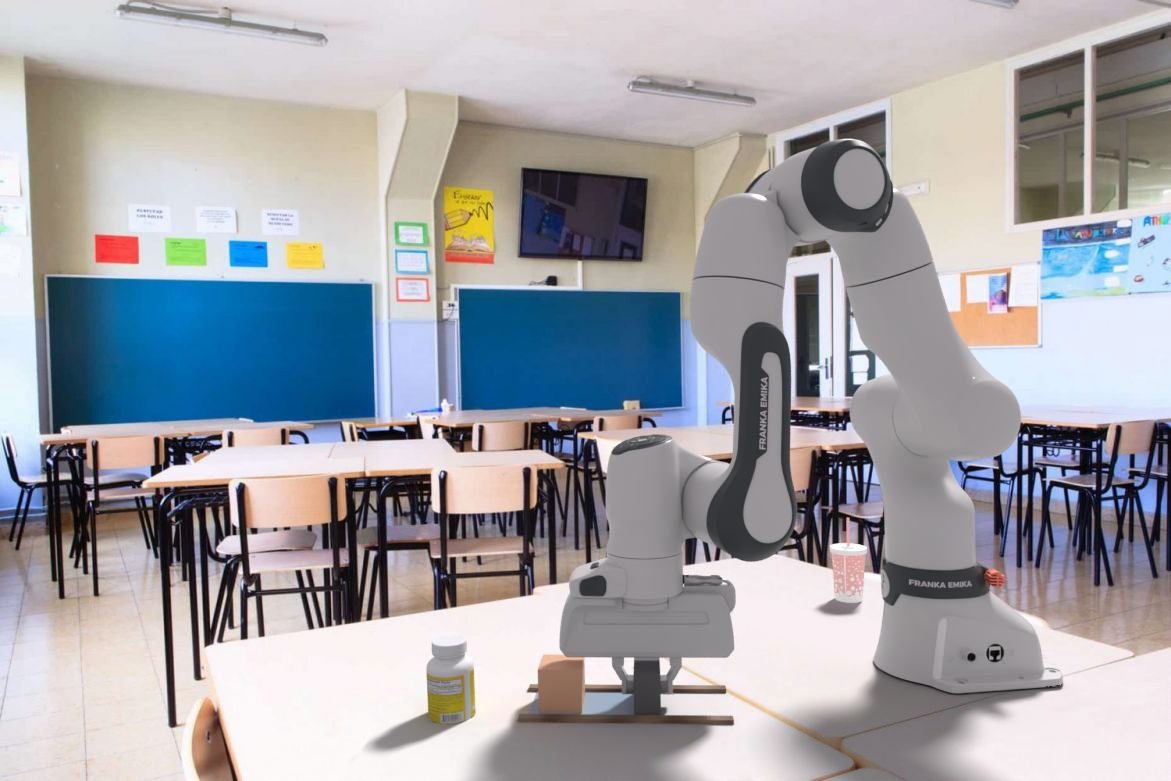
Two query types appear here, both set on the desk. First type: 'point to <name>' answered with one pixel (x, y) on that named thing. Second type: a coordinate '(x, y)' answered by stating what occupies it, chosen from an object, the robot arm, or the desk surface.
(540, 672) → the terracotta cube
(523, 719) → the guide rails
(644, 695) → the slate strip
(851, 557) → the beverage cup
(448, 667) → the supplement bottle
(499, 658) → the desk surface
